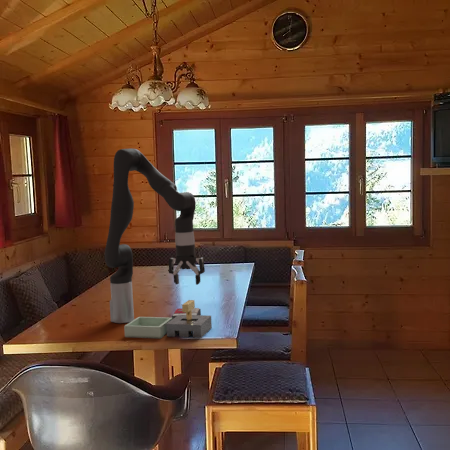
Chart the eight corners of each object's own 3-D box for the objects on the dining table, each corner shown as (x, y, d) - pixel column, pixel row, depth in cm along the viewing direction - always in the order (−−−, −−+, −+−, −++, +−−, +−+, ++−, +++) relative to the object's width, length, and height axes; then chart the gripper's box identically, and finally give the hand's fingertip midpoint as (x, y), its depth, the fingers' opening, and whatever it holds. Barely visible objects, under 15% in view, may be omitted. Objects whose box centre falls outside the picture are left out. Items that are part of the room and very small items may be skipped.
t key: (189, 335, 226) (187, 304, 225) (183, 334, 226) (182, 304, 225) (195, 329, 233) (194, 300, 232) (190, 329, 234) (188, 300, 233)
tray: (124, 337, 227) (124, 325, 226) (139, 327, 240) (138, 316, 240) (160, 338, 223) (159, 327, 222) (173, 328, 236) (172, 317, 236)
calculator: (200, 307, 257) (197, 314, 242) (201, 316, 257) (197, 324, 242) (176, 307, 257) (171, 314, 242) (176, 317, 257) (171, 324, 243)
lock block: (167, 336, 225) (166, 323, 225) (179, 326, 239) (178, 314, 238) (201, 337, 221) (200, 325, 221) (211, 327, 235) (211, 315, 234)
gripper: (164, 244, 225) (167, 286, 226) (199, 244, 221) (201, 286, 222) (171, 242, 232) (173, 282, 234) (205, 241, 228) (207, 282, 230)
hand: (187, 284), depth 228 cm, fingers open, 8 cm apart
